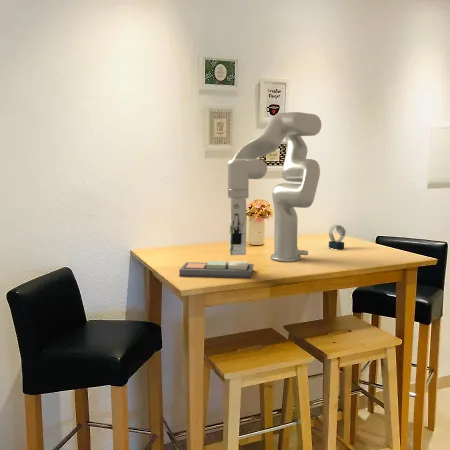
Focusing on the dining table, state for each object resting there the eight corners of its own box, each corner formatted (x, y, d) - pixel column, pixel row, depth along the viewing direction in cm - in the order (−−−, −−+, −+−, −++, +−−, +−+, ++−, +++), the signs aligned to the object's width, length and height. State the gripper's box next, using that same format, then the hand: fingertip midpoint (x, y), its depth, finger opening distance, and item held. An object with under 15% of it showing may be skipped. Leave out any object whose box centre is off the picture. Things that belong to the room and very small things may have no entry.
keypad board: (253, 270, 189) (253, 263, 189) (250, 278, 178) (250, 271, 177) (186, 268, 193) (186, 262, 193) (179, 276, 181) (179, 269, 181)
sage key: (227, 264, 188) (227, 261, 188) (224, 269, 181) (224, 265, 181) (209, 264, 189) (209, 260, 188) (206, 268, 182) (206, 264, 182)
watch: (347, 248, 228) (348, 225, 227) (333, 250, 224) (334, 226, 223) (339, 246, 233) (339, 223, 231) (325, 248, 229) (326, 224, 228)
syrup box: (229, 252, 186) (229, 213, 183) (244, 252, 186) (245, 213, 184) (230, 255, 180) (230, 215, 178) (246, 255, 180) (246, 215, 178)
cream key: (248, 265, 187) (248, 261, 187) (246, 269, 180) (246, 265, 180) (230, 264, 188) (230, 261, 187) (228, 269, 181) (228, 265, 181)
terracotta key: (206, 267, 189) (206, 263, 189) (203, 271, 182) (203, 267, 182) (189, 267, 190) (188, 263, 190) (185, 271, 183) (185, 267, 183)
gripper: (246, 196, 171) (245, 247, 173) (250, 192, 188) (250, 238, 190) (224, 195, 172) (224, 246, 174) (230, 191, 189) (230, 238, 191)
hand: (238, 242), depth 182 cm, fingers closed on syrup box, 6 cm apart
